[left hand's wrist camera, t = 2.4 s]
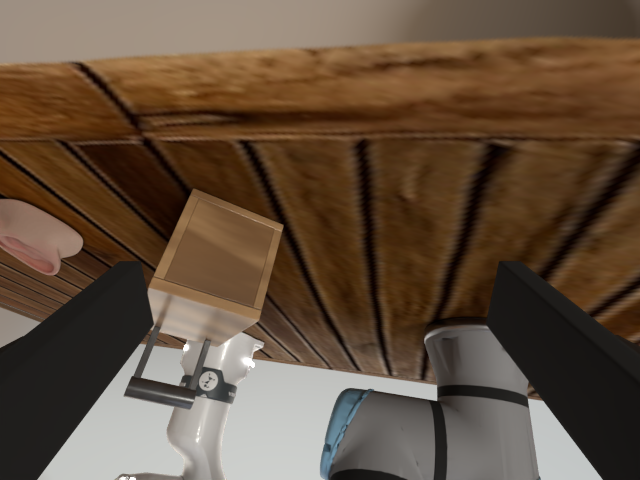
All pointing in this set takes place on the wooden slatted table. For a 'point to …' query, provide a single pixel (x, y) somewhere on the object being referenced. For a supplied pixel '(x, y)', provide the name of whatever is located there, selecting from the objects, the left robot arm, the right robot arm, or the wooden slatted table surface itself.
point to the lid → (186, 335)
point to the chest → (221, 250)
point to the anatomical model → (36, 236)
